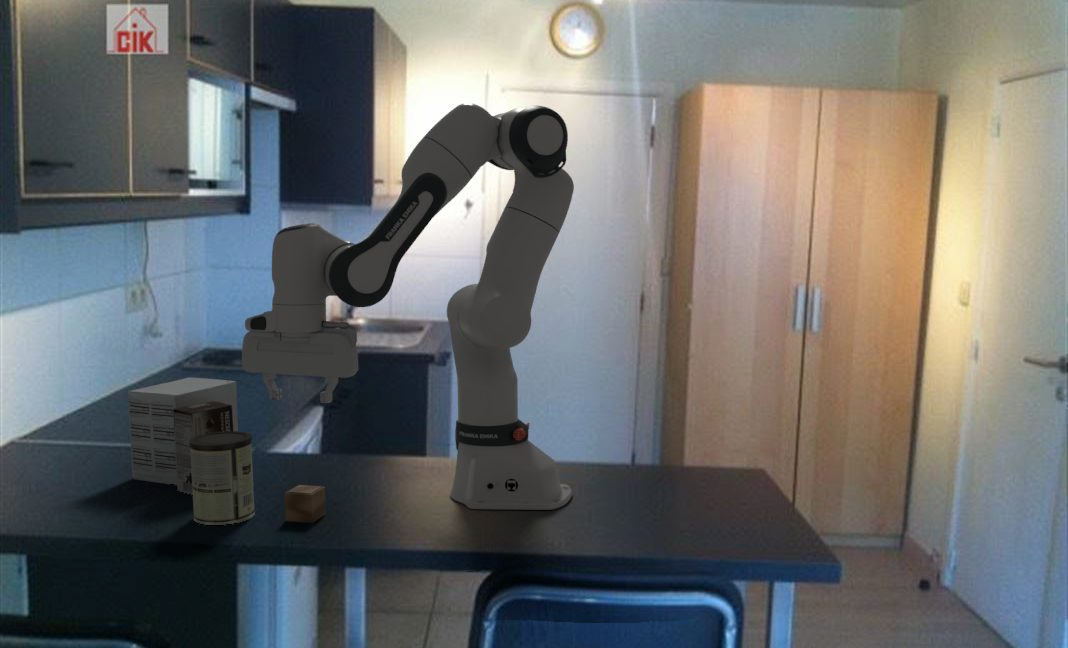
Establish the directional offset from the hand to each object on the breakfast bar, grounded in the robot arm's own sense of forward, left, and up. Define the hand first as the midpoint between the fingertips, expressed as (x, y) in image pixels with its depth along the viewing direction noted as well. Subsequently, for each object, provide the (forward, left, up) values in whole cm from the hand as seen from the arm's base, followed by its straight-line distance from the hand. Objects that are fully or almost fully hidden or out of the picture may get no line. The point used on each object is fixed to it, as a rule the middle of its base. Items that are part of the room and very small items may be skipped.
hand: (300, 400), depth 165 cm
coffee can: (+14, +3, -21) cm, 25 cm away
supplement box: (+38, -22, -21) cm, 48 cm away
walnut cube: (0, 0, -21) cm, 21 cm away
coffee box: (+27, -12, -21) cm, 36 cm away
